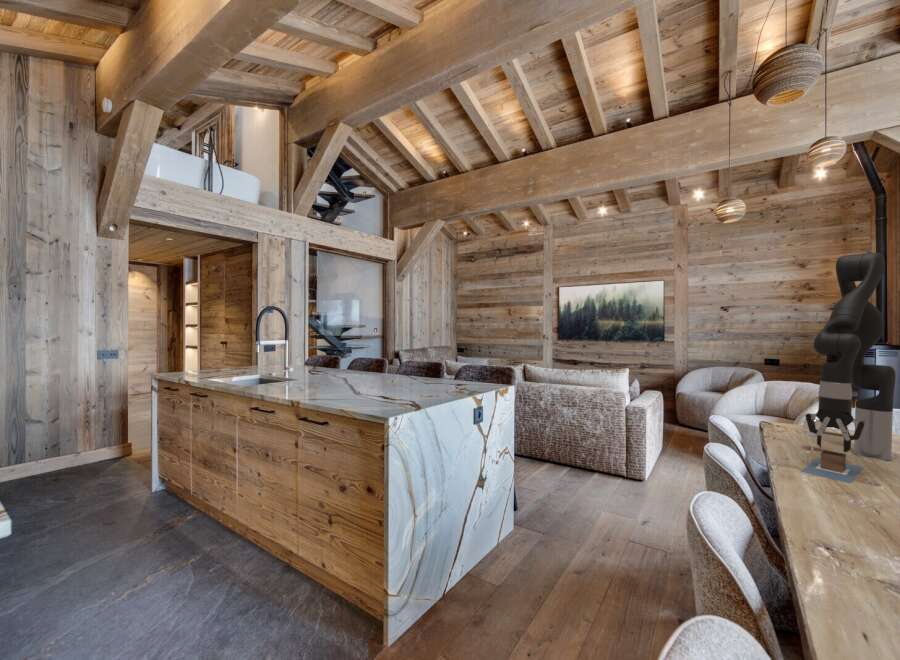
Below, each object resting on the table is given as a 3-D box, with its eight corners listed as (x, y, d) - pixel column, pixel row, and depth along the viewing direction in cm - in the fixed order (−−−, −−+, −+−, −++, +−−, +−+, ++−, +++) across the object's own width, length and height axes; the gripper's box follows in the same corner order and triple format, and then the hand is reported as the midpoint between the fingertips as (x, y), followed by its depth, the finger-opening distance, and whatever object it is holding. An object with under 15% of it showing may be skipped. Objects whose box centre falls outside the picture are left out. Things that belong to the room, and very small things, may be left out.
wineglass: (827, 455, 143) (828, 422, 143) (808, 453, 144) (809, 421, 144) (815, 450, 148) (816, 418, 148) (798, 448, 150) (799, 417, 149)
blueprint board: (817, 460, 136) (817, 457, 136) (863, 470, 128) (863, 466, 128) (800, 474, 123) (800, 471, 123) (850, 486, 114) (850, 482, 114)
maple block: (824, 446, 128) (824, 431, 128) (845, 450, 124) (846, 434, 124) (820, 449, 125) (821, 433, 125) (842, 453, 121) (843, 437, 121)
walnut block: (824, 465, 128) (824, 449, 128) (845, 469, 124) (846, 454, 124) (820, 468, 125) (821, 452, 125) (842, 473, 122) (842, 457, 121)
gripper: (869, 398, 121) (867, 453, 122) (808, 391, 133) (806, 441, 133) (865, 401, 117) (863, 457, 117) (802, 393, 128) (800, 445, 128)
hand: (833, 449), depth 125 cm, fingers closed on maple block, 5 cm apart
